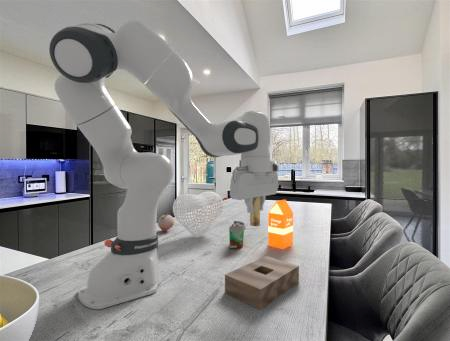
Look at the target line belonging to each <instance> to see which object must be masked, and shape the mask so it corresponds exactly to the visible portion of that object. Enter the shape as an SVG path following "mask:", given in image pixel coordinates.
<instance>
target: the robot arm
mask: <svg viewBox="0 0 450 341" xmlns="http://www.w3.org/2000/svg"><path fill="white" fill-rule="evenodd" d="M48 49H49V56H50V60H51V62H52V64H53V66H54V67H55V68H56V70H57V72H59V73H60V75H59V76H58V77H57V78H56V80H55V81H54V91H55V93H56V95H57V97H58V99H59V101H60V103H61V105H62V106H63V108H64V110H65V111H66V113H67V114H68V116H69V117H70V118H71V120H72V121H73V122H74V124H75V125H76V127H77V128H78V129H79V130H80V132H81V133H82V134H83V136H84V137H85V138H86V139H87V141H88V142H89V144H90V145H91V146H92V148H93V150H95V152H96V154H97V156H98V158H99V159H100V160H99V161H100V162H101V164H102V167H103V176H104V178H105V180H106V181H107V182H108V183H110V184H111V185H113V186H115V187H117V188H120V189H126V194H125V198H124V201H123V204H122V205H121V206H120V207H119V209H118V210H117V212H116V213H117V216H116V217H117V222H116V224H117V225H116V226H117V230H116V231H117V235H116V238H115V239H114V240H112V239H105V241H104V246H105V247H107V248H110V252H109V253H108V254H106V255H105V256H104V257H103V258H102V259H101V260H100V261H99V262H98V263H97V264H96V265H94V266H93V267H92V268H91V269H90V271H89V274H88V278H87V284H86V285H83V286H81V287H80V288H79V289H78V291H77V298H78V301H80V303H82V305H83V306H85V307H87V308H89V309H92V310H102V309H106V308H109V307H112V306H116V305H118V304H121V303H126V302H129V301H132V300H136V299H140V298H143V297H146V296H148V295H152V294H155V293H157V290H158V286H159V285H160V284H161V283H162V281H163V277H162V275H161V271H160V266H159V259H158V248H159V234H158V233H157V225H158V218H157V217H158V216H157V215H158V208H159V207H158V206H159V203H160V199H161V197H162V194H163V192H164V190H165V189H166V188H167V187H168V186H169V185H171V182H172V181H173V177H174V165H173V163H172V162H171V160H170V159H169V158H168V157H167V156H165V155H162V154H159V153H157V152H156V153H155V152H150V151H149V152H138V151H137V150H136V149H135V147H134V145H133V142H132V138H131V136H132V127H131V125H130V124H129V122H128V121H127V119H126V117H125V115H124V114H123V112H122V111H121V109H120V108H119V106H118V105H117V104H116V102H115V101H114V99H113V98H112V96H111V95H110V93H109V91H108V90H107V87H106V79H107V78H108V79H109V77H110V76H111V75H112V74H113V73H114V72H116V70H124V71H126V72H128V73H130V74H131V75H132V76H134V77H135V78H136V79H137V80H138V81H139V82H140V83H142V85H144V86H145V87H146V88H147V89H148V90H149V92H151V93H152V94H153V95H154V96H155V97H157V98H158V99H159V101H161V102H162V104H163V105H165V106H166V108H167V109H168V110H169V111H170V112H171V114H173V116H175V118H176V119H178V121H179V122H180V123H181V125H183V126H184V127H185V128H186V129H187V130H188V131H189V132H190V133H191V134H192V136H193V137H194V138H195V140H196V141H197V143H198V145H199V148H200V149H201V150H202V152H203V153H204V154H206V155H207V156H208V157H210V158H219V157H224V156H226V157H227V156H234V155H240V166H236V167H235V168H234V169H233V171H232V173H231V174H232V175H231V178H230V185H229V196H230V198H231V200H236V201H242V200H244V203H245V205H246V209H247V210H246V211H247V213H248V214H250V213H253V212H255V207H253V204H252V202H253V198H255V197H260V212H261V211H263V210H264V205H265V204H264V203H265V202H266V196H271V195H272V196H273V195H276V194H277V193H278V187H279V185H278V184H279V175H278V172H279V168H280V167H279V164H277V163H275V162H273V161H272V160H271V154H270V153H271V152H270V145H271V128H270V121H269V118H268V116H267V115H266V114H265V113H263V112H260V111H253V110H250V111H249V110H248V111H246V112H244V113H243V114H242V115H241V116H238V117H236V118H235V119H231V120H227V121H225V122H222V123H219V124H217V123H212V122H210V121H209V120H208V119H207V118H206V117H205V116H204V114H203V113H202V112H201V111H200V109H198V107H196V105H195V104H194V103H193V100H192V96H191V95H192V94H191V92H192V88H193V80H194V79H193V73H192V70H191V69H190V67H189V65H188V64H187V62H186V61H185V60H184V58H182V57H181V55H180V54H179V53H178V52H177V51H176V50H175V49H174V48H173V47H172V46H171V45H170V44H169V43H168V42H167V41H166V40H165V39H164V38H163V37H162V36H160V35H159V34H158V33H157V32H156V31H154V30H153V29H152V28H150V26H148V25H147V24H145V23H144V22H142V21H139V20H130V21H127V22H125V23H123V24H122V25H120V26H119V27H118V29H117V30H116V31H115V30H114V29H112V28H111V27H110V26H107V25H105V24H103V23H101V24H100V23H84V22H83V23H80V24H76V25H74V26H66V27H64V28H62V29H60V30H59V31H57V32H56V33H55V34H54V35H53V37H52V38H51V40H50V43H49V48H48Z"/></svg>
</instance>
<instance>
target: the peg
mask: <svg viewBox="0 0 450 341" xmlns="http://www.w3.org/2000/svg"><path fill="white" fill-rule="evenodd" d="M252 204H253V207H255V212H253V213H249V226H251V227H260V226H261V211H260V197H255V198H253V202H252Z"/></svg>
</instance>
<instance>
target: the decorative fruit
mask: <svg viewBox="0 0 450 341" xmlns="http://www.w3.org/2000/svg"><path fill="white" fill-rule="evenodd" d="M174 224H175V219H174V217H173V216H172V215H171V214H169V213H166V212H165V214H164V215H161V216H160V217H159V218H158V219H157V226H158V228H159V229H160V230H161V231H163V232H167V231H169V230H170V229H172V228H173V227H174Z"/></svg>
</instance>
